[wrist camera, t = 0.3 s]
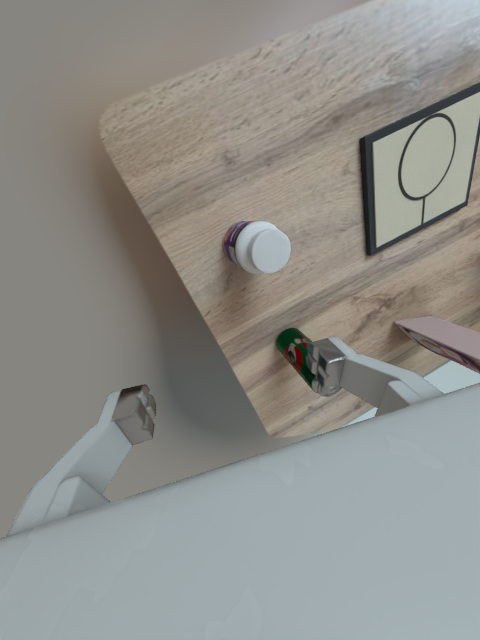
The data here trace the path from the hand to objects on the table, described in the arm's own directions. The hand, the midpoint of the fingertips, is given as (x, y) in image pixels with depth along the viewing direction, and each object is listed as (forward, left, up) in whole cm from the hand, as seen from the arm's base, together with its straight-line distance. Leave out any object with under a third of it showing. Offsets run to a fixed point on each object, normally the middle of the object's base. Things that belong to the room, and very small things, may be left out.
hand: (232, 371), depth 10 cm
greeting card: (-4, +49, -20) cm, 53 cm away
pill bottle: (-6, +5, -20) cm, 22 cm away
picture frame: (-24, +28, -20) cm, 42 cm away
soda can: (+6, +19, -20) cm, 28 cm away
